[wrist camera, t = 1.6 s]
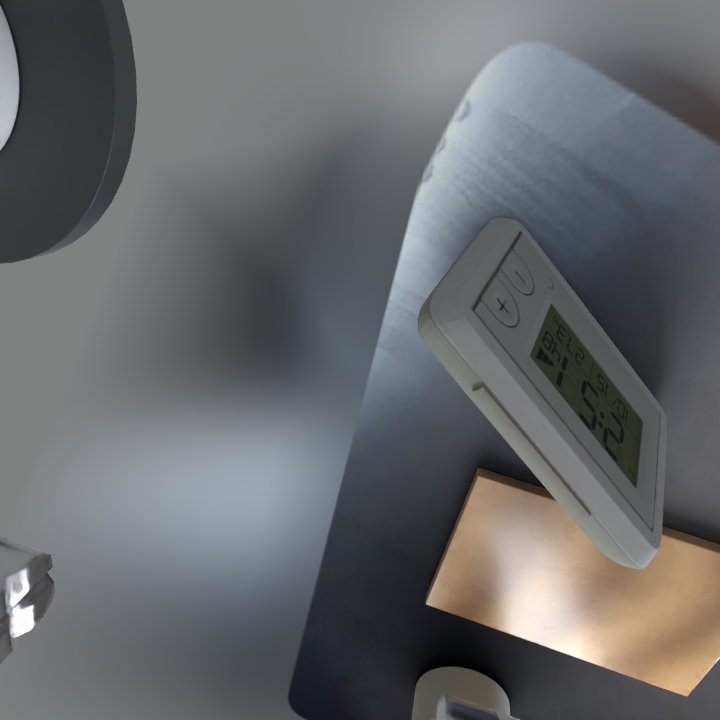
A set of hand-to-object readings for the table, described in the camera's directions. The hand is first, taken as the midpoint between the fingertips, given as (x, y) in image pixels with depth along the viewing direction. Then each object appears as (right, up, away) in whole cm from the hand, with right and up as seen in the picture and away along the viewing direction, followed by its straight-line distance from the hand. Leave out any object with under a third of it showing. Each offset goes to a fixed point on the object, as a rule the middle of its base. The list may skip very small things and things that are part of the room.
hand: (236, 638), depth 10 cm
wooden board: (+19, -10, +26) cm, 34 cm away
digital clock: (+14, +7, +20) cm, 25 cm away
